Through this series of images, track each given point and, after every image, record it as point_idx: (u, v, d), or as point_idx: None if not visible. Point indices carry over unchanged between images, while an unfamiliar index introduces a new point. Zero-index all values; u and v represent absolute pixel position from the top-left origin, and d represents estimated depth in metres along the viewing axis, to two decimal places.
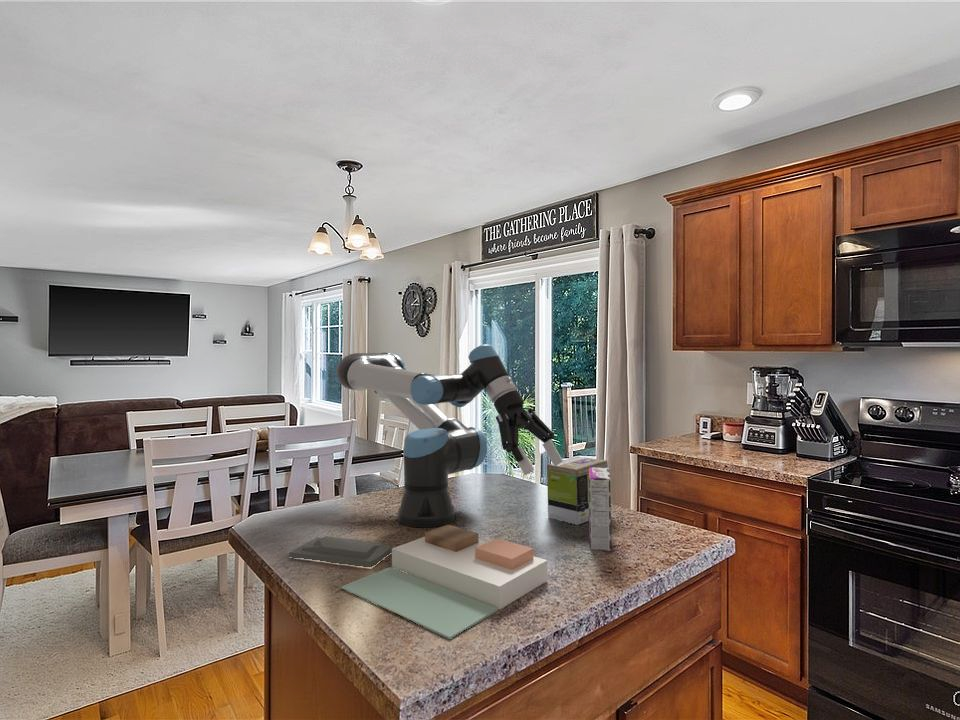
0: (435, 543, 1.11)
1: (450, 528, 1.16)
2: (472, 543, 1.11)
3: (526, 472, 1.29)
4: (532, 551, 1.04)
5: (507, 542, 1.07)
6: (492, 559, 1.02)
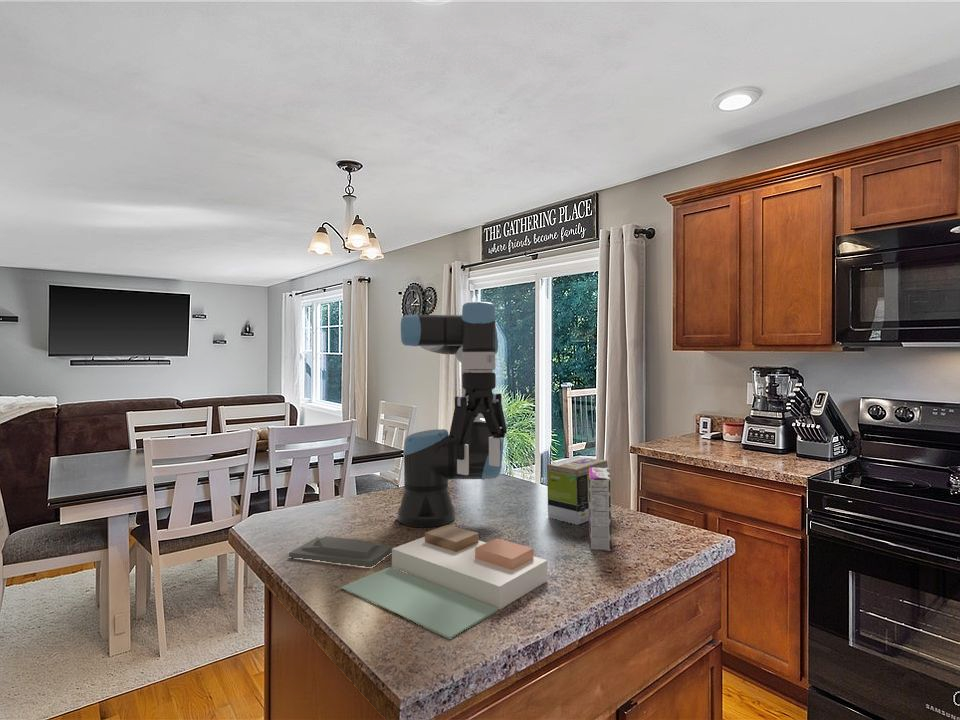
0: (435, 543, 1.11)
1: (450, 528, 1.16)
2: (472, 543, 1.11)
3: (460, 472, 1.16)
4: (532, 551, 1.04)
5: (507, 542, 1.07)
6: (492, 559, 1.02)
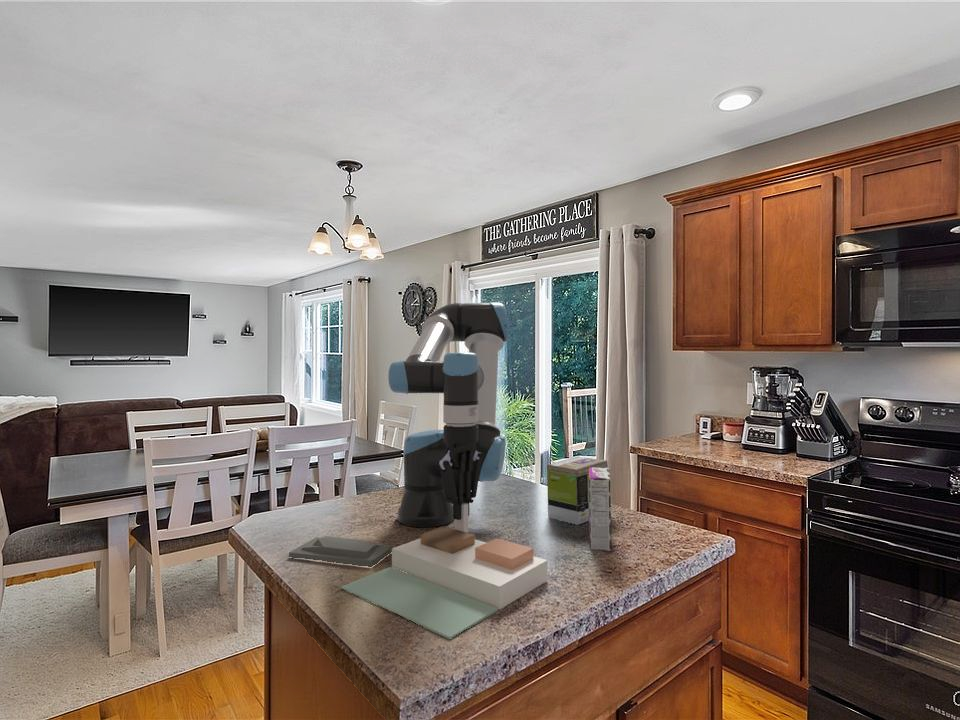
0: (431, 545, 1.10)
1: (446, 529, 1.15)
2: (468, 545, 1.10)
3: None
4: (532, 551, 1.04)
5: (507, 542, 1.07)
6: (492, 559, 1.02)
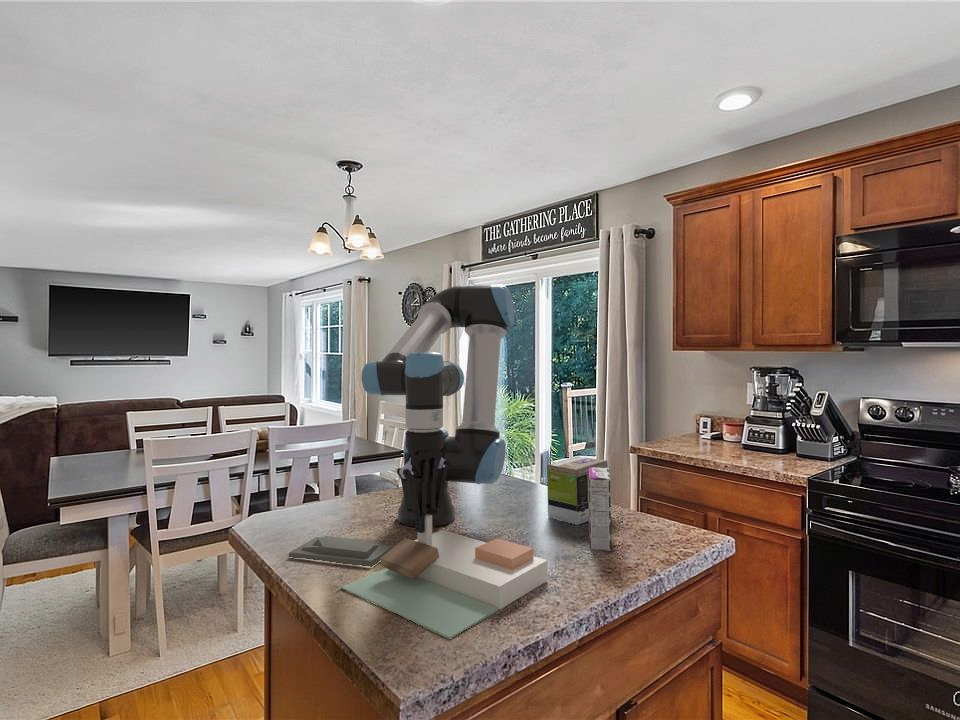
0: (392, 569, 1.02)
1: (408, 544, 1.06)
2: (432, 561, 1.02)
3: None
4: (532, 551, 1.04)
5: (507, 542, 1.07)
6: (492, 559, 1.02)
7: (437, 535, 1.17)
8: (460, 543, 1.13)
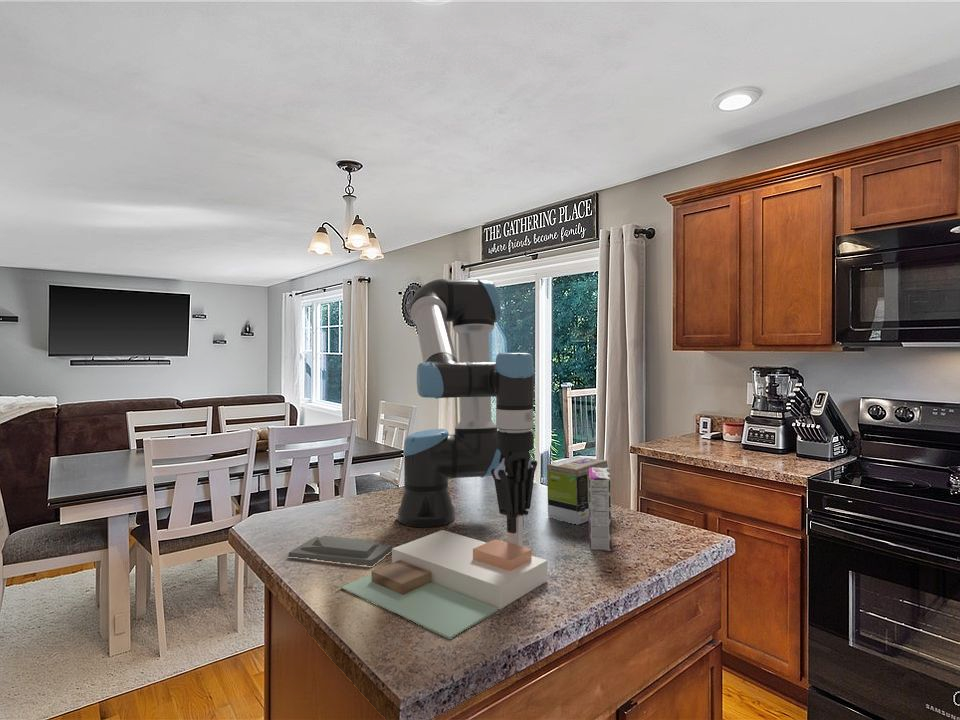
0: (381, 583, 1.00)
1: (401, 565, 1.05)
2: (422, 584, 1.00)
3: None
4: (530, 552, 1.03)
5: (505, 543, 1.07)
6: (490, 560, 1.01)
7: (437, 535, 1.17)
8: (460, 543, 1.13)
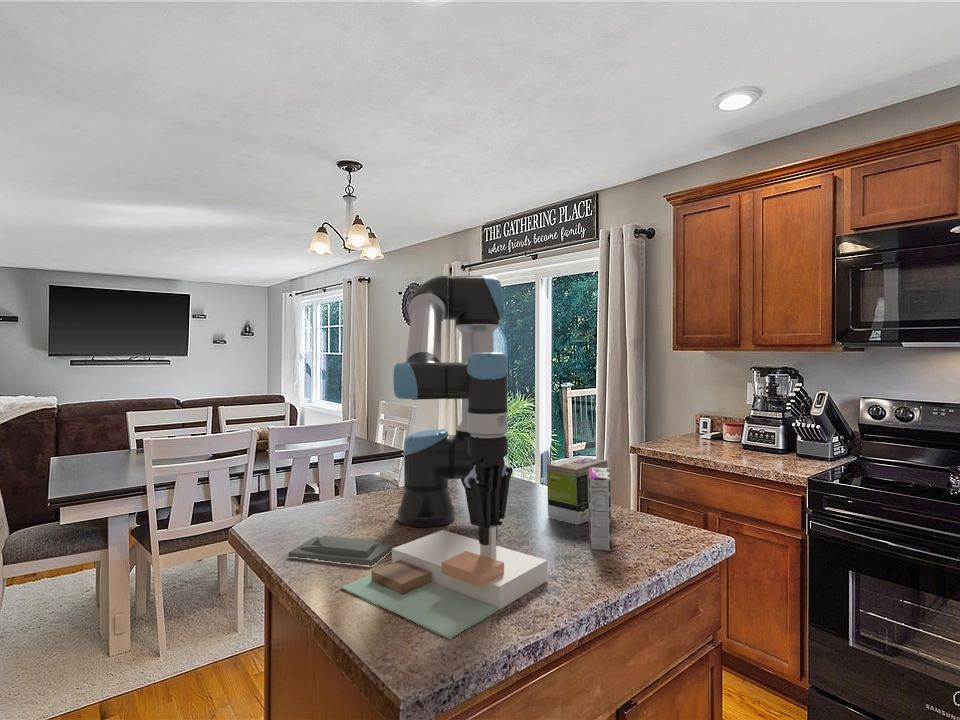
0: (381, 583, 1.00)
1: (401, 565, 1.05)
2: (422, 584, 1.00)
3: None
4: (502, 565, 0.97)
5: (477, 555, 1.00)
6: (459, 575, 0.94)
7: (437, 535, 1.17)
8: (460, 543, 1.13)
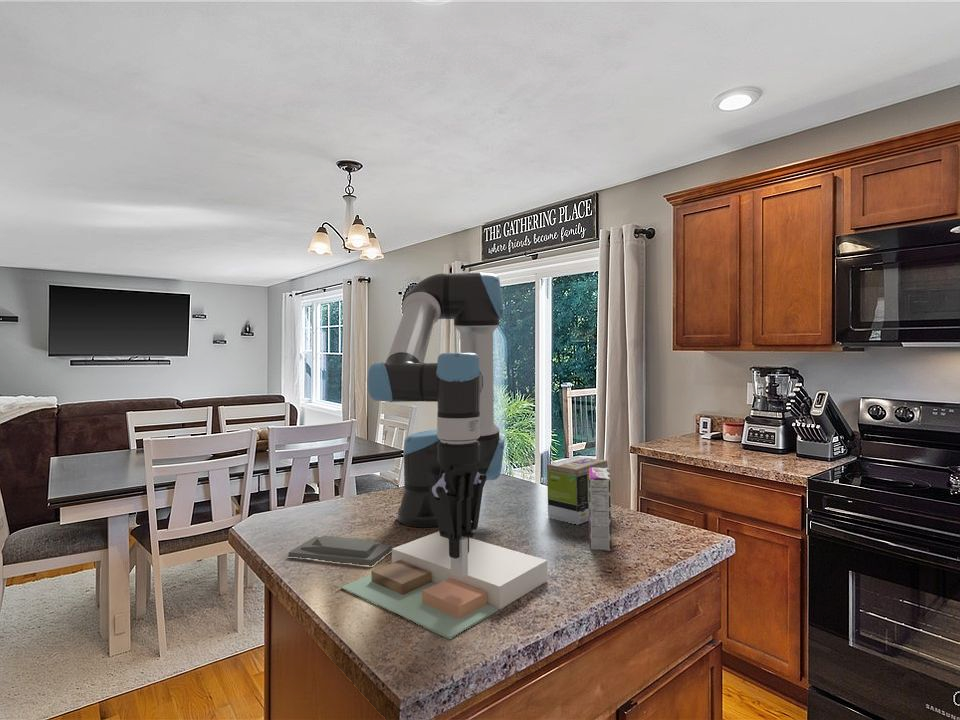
0: (381, 583, 1.00)
1: (401, 565, 1.05)
2: (422, 584, 1.00)
3: (454, 572, 0.94)
4: (485, 595, 0.93)
5: (460, 583, 0.96)
6: (439, 605, 0.91)
7: (437, 535, 1.17)
8: None
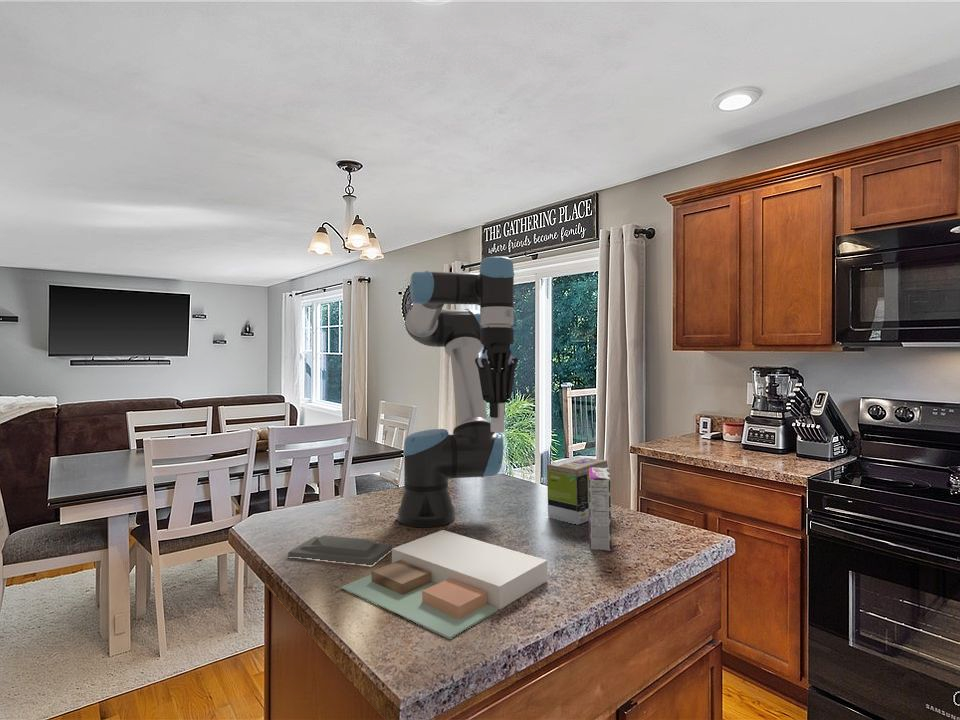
0: (381, 583, 1.00)
1: (401, 565, 1.05)
2: (422, 584, 1.00)
3: (493, 430, 1.20)
4: (485, 595, 0.93)
5: (460, 583, 0.96)
6: (439, 605, 0.91)
7: (437, 535, 1.17)
8: (460, 543, 1.13)
